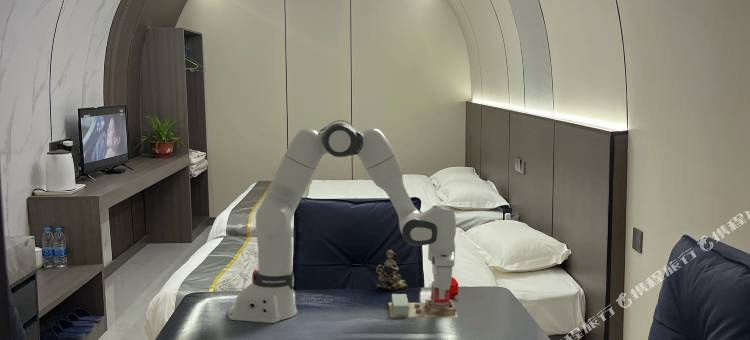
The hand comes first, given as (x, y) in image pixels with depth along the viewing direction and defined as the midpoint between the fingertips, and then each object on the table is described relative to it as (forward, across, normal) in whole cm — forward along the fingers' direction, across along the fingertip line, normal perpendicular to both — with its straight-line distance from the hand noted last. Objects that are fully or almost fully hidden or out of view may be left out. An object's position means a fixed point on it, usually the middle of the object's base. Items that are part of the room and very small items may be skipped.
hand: (440, 294), depth 225 cm
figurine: (+7, -25, -15) cm, 30 cm away
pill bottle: (+5, 0, 0) cm, 5 cm away
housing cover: (+5, 0, -13) cm, 14 cm away
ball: (+7, -16, +4) cm, 18 cm away
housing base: (+6, 0, -6) cm, 9 cm away
